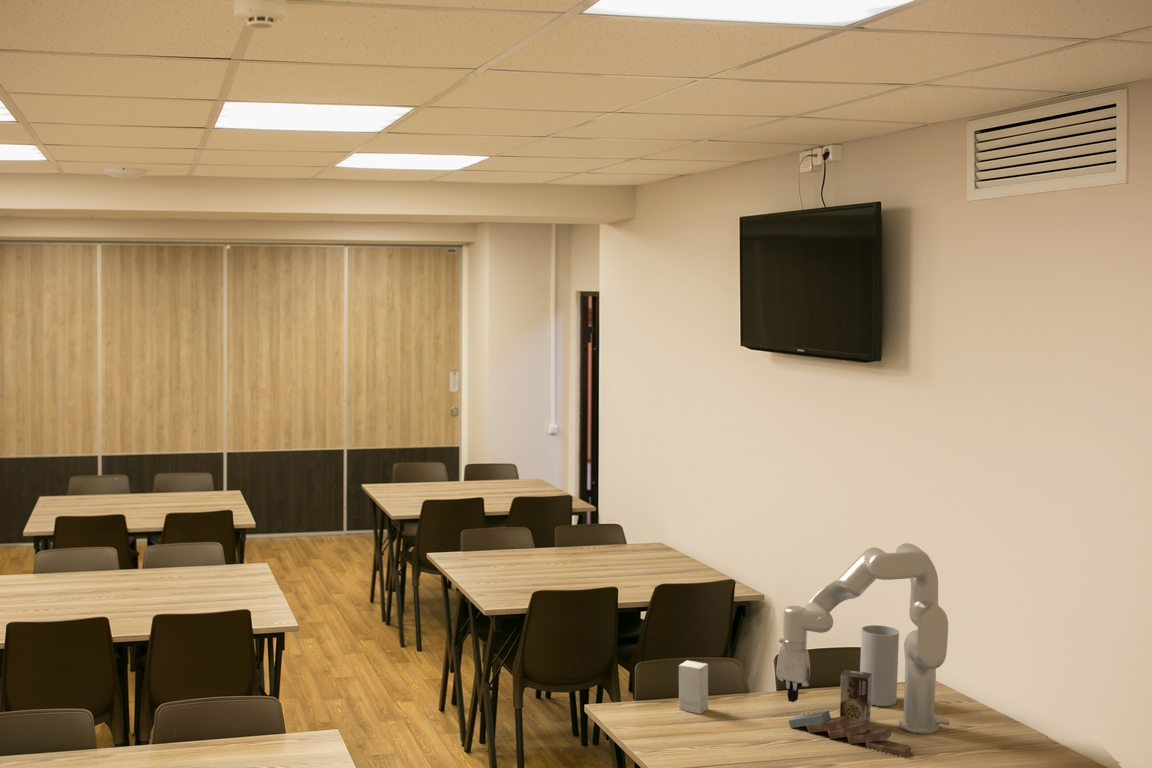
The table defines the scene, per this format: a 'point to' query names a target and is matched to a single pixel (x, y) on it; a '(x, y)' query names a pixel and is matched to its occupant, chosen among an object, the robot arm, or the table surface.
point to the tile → (809, 719)
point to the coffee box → (855, 695)
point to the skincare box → (693, 687)
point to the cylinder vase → (880, 662)
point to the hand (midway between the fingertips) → (792, 700)
